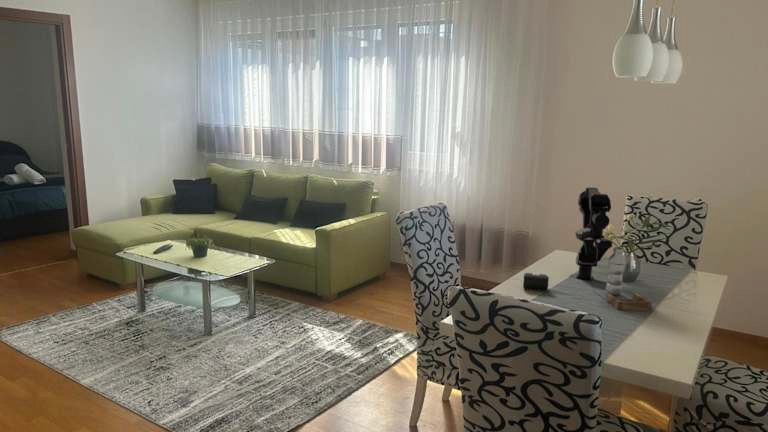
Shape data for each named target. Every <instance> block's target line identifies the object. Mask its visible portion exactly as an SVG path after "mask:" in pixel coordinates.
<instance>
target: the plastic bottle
mask: <svg viewBox="0 0 768 432" xmlns="http://www.w3.org/2000/svg"><path fill="white" fill-rule="evenodd" d="M624 250H625V249H624V248H623V247H618V246H616V247H613V254H611V255H610V257H609V258H608V277H607V282H606V285H605V290H606V292H607V293H608V294H611V295H620V294H621V293H622V292H623V290H624V289H623V287H624V286H623V274H624V269H625V265H626V262H627V261H626V257H624Z"/></svg>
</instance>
